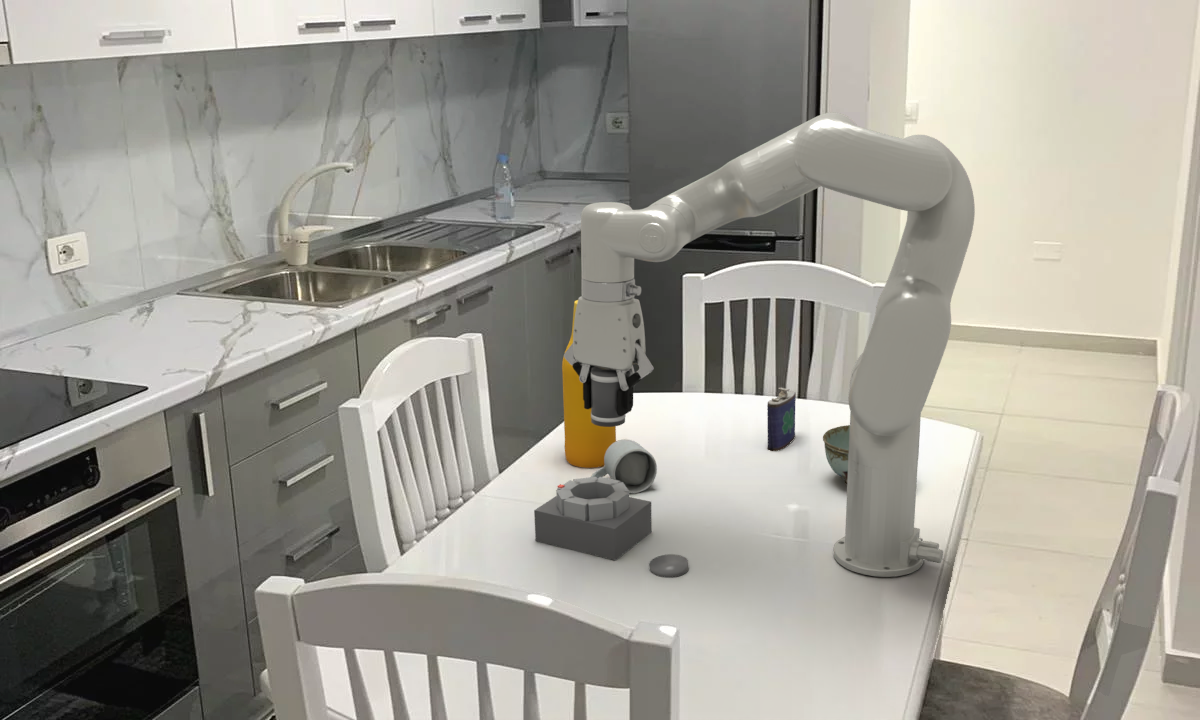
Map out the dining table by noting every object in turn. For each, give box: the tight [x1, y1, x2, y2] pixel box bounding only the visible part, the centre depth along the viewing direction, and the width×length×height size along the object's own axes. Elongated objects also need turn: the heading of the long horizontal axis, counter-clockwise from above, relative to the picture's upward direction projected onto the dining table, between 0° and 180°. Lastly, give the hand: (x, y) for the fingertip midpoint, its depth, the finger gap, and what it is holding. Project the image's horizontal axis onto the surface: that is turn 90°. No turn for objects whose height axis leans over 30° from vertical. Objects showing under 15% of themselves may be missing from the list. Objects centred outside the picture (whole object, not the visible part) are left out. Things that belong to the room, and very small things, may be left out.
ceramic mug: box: [590, 438, 658, 495], centre depth 193 cm, size 11×8×8 cm
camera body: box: [533, 476, 653, 561], centre depth 174 cm, size 14×11×8 cm
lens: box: [591, 366, 626, 427], centre depth 169 cm, size 5×5×8 cm
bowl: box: [822, 424, 850, 486], centre depth 191 cm, size 14×13×8 cm
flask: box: [766, 387, 797, 452], centre depth 209 cm, size 9×3×11 cm, turn 147°
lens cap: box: [648, 553, 690, 579], centre depth 164 cm, size 6×6×1 cm
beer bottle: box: [561, 299, 617, 469], centre depth 202 cm, size 9×9×29 cm
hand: (607, 408), depth 170 cm, fingers closed on lens, 5 cm apart
